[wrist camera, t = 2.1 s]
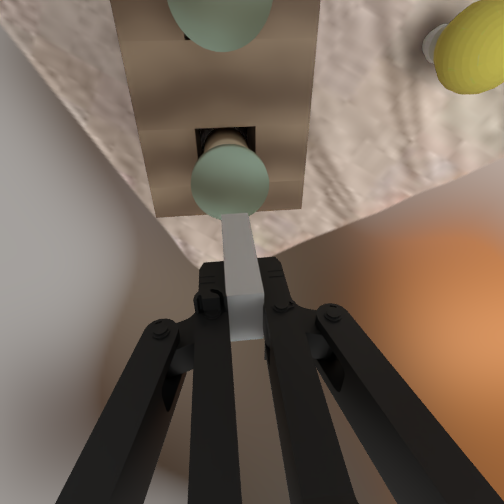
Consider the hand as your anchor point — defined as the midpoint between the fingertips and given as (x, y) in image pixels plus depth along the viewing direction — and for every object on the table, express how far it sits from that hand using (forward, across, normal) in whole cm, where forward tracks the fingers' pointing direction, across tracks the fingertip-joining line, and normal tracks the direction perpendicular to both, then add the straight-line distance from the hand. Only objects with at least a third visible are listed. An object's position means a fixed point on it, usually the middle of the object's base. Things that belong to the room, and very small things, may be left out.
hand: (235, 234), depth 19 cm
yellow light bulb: (+20, +21, +8) cm, 30 cm away
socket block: (+20, 0, +6) cm, 21 cm away
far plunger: (+15, 0, 0) cm, 15 cm away
